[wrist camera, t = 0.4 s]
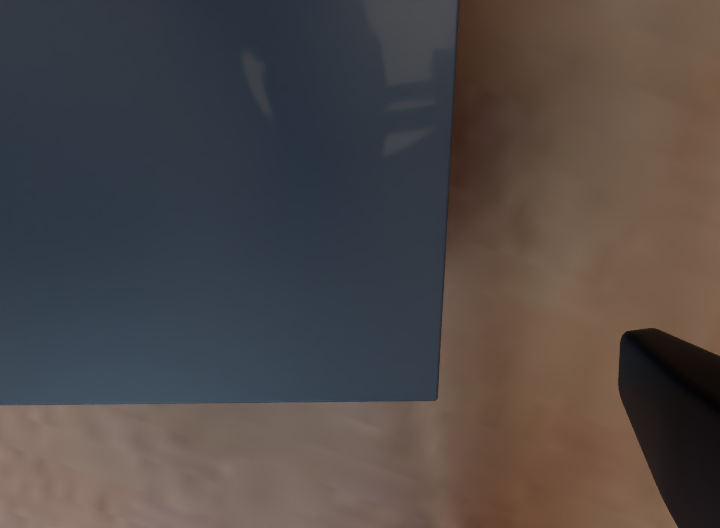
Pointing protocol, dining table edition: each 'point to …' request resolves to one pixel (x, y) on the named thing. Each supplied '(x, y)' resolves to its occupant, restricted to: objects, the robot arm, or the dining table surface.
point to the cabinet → (223, 199)
